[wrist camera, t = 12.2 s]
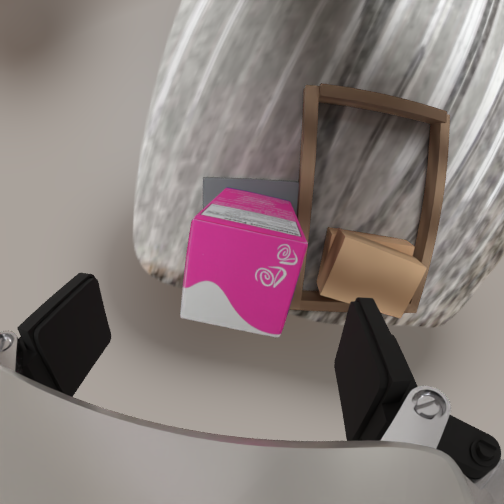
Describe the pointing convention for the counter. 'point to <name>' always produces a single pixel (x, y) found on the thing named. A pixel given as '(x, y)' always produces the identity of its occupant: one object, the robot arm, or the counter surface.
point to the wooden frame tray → (432, 186)
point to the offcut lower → (387, 241)
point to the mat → (251, 188)
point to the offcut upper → (369, 273)
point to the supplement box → (243, 262)
